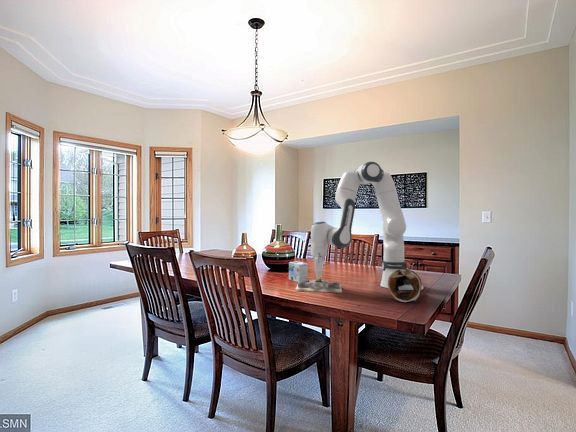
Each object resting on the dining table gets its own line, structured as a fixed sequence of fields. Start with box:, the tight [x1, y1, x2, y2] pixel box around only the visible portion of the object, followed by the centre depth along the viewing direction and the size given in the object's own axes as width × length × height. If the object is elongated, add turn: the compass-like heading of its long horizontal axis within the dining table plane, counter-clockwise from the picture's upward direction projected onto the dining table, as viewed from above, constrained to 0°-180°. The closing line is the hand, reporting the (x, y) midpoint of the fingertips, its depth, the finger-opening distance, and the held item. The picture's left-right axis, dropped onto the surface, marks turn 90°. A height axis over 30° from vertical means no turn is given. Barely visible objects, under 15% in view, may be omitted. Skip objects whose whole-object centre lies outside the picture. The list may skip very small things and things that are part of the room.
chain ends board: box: [294, 279, 343, 294], centre depth 182 cm, size 24×12×4 cm, turn 83°
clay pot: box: [387, 268, 423, 303], centre depth 168 cm, size 15×15×25 cm
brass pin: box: [315, 271, 323, 283], centre depth 182 cm, size 3×3×10 cm
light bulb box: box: [288, 260, 309, 283], centre depth 204 cm, size 11×7×11 cm, turn 37°
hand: (318, 277), depth 182 cm, fingers closed on brass pin, 3 cm apart
